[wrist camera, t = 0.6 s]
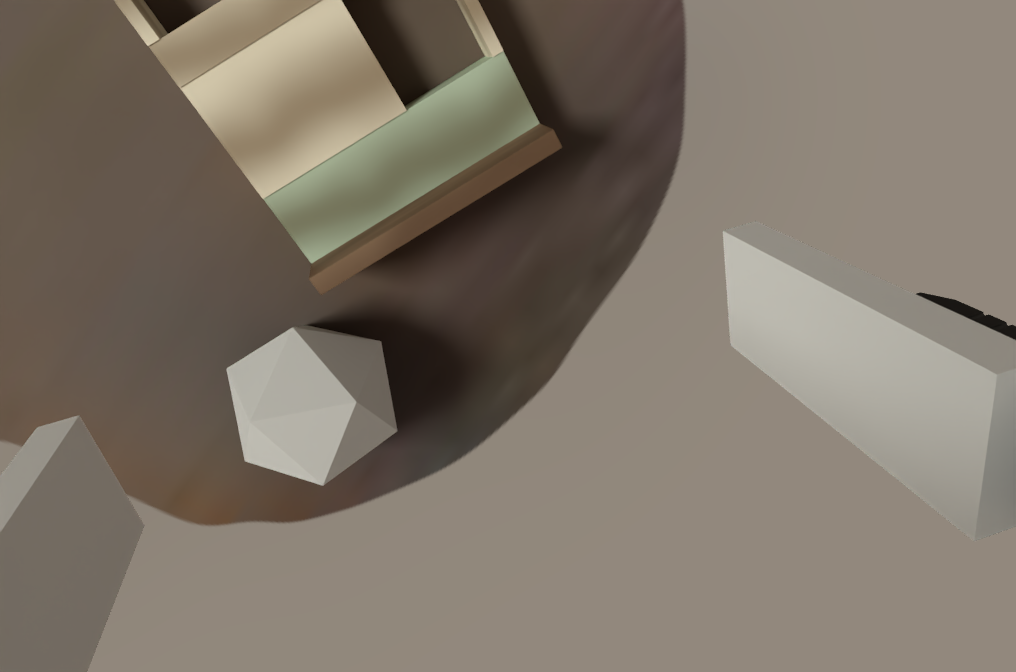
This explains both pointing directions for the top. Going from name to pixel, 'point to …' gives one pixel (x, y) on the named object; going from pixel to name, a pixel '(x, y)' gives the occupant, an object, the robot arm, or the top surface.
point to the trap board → (346, 124)
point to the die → (312, 402)
